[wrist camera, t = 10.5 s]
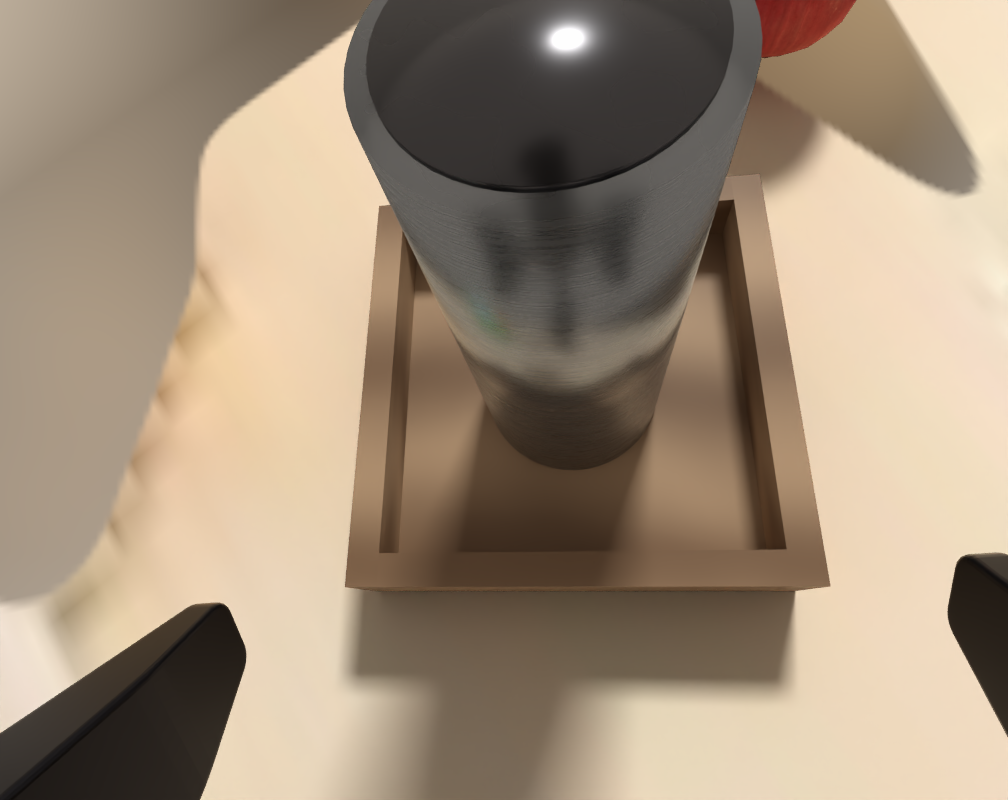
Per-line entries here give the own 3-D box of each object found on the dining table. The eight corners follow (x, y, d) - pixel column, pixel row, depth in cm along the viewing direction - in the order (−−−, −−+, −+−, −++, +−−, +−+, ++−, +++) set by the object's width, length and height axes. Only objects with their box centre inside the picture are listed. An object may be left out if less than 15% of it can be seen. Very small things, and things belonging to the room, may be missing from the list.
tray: (795, 590, 19) (830, 586, 17) (377, 590, 21) (344, 587, 18) (740, 224, 24) (759, 173, 21) (402, 250, 26) (379, 206, 23)
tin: (688, 426, 21) (860, 90, 8) (529, 498, 21) (421, 284, 7) (609, 289, 23) (636, -157, 10) (465, 354, 23) (293, -9, 10)
